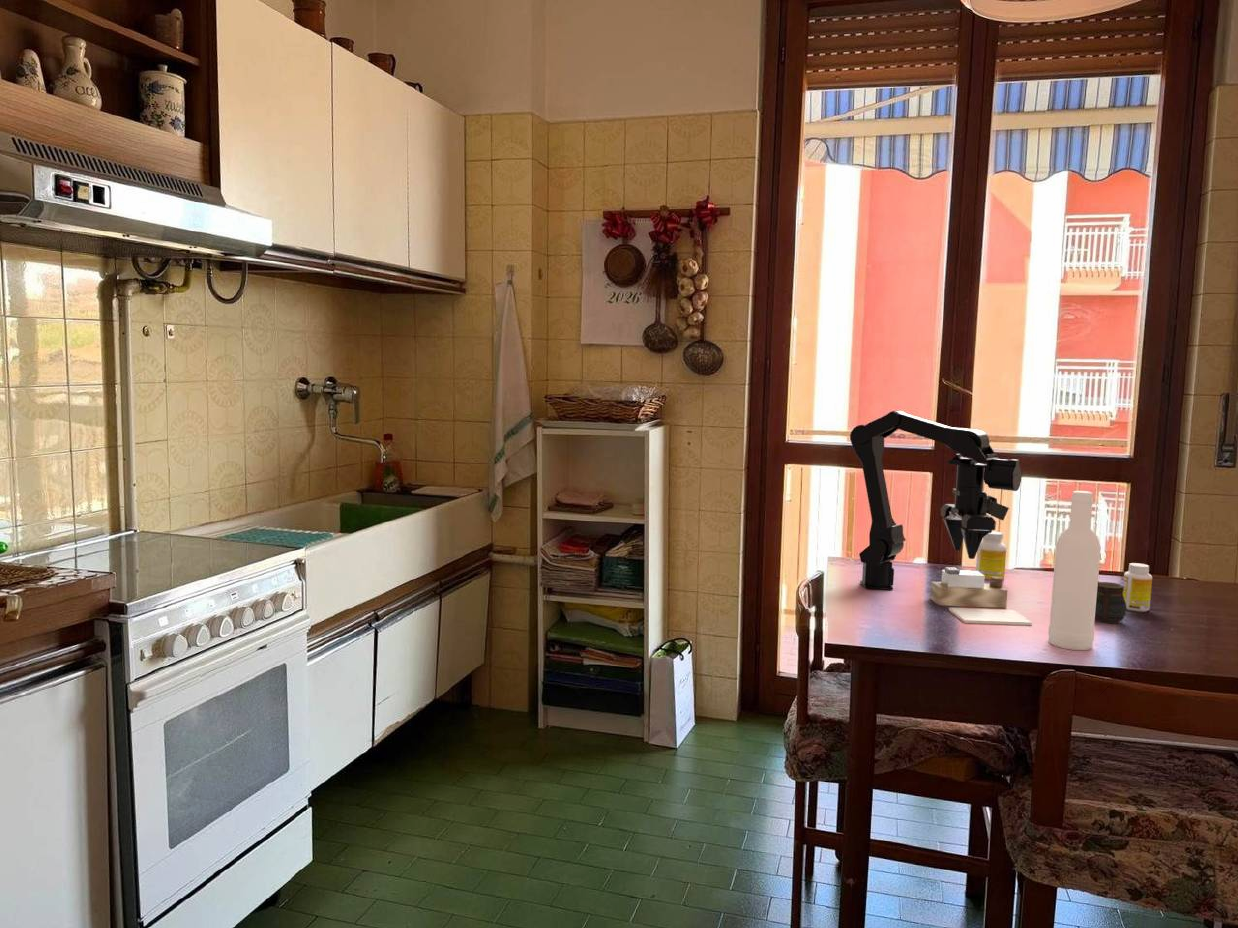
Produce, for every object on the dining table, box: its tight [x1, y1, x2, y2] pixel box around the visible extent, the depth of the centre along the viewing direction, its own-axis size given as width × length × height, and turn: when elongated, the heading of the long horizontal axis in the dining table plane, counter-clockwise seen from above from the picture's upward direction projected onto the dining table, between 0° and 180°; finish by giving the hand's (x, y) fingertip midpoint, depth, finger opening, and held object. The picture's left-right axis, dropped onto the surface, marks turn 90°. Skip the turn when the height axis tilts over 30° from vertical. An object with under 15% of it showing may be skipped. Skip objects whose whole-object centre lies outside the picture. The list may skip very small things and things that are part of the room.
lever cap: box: [940, 566, 985, 589], centre depth 209 cm, size 8×5×4 cm, turn 88°
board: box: [948, 607, 1033, 626], centre depth 198 cm, size 14×10×1 cm
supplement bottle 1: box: [975, 530, 1007, 585], centre depth 230 cm, size 7×7×13 cm
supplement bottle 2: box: [1122, 562, 1153, 613], centre depth 208 cm, size 6×6×10 cm
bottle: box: [1047, 490, 1102, 651], centre depth 178 cm, size 8×8×30 cm
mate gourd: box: [1095, 580, 1128, 624], centre depth 197 cm, size 7×8×10 cm
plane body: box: [929, 577, 1008, 609], centre depth 209 cm, size 15×6×6 cm, turn 88°
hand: (964, 554), depth 209 cm, fingers open, 9 cm apart
